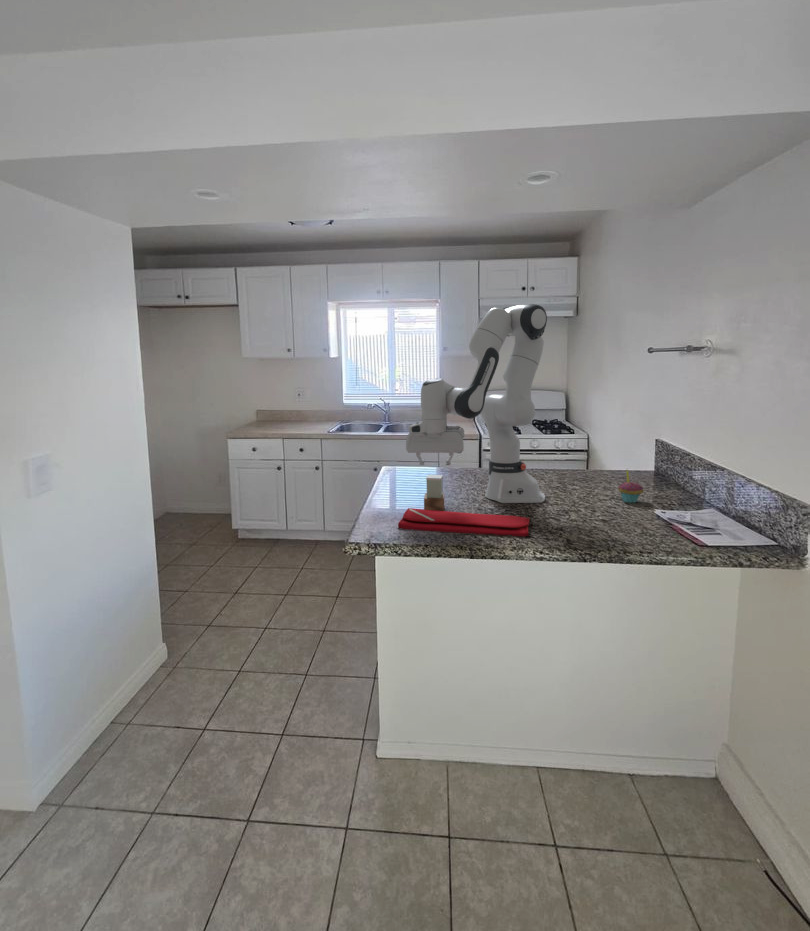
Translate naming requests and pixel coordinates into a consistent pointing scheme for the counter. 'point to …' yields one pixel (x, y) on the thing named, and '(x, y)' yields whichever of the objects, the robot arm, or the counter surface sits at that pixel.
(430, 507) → the walnut block
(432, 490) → the sage tin
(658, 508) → the counter surface
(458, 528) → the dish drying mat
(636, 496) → the cupcake
